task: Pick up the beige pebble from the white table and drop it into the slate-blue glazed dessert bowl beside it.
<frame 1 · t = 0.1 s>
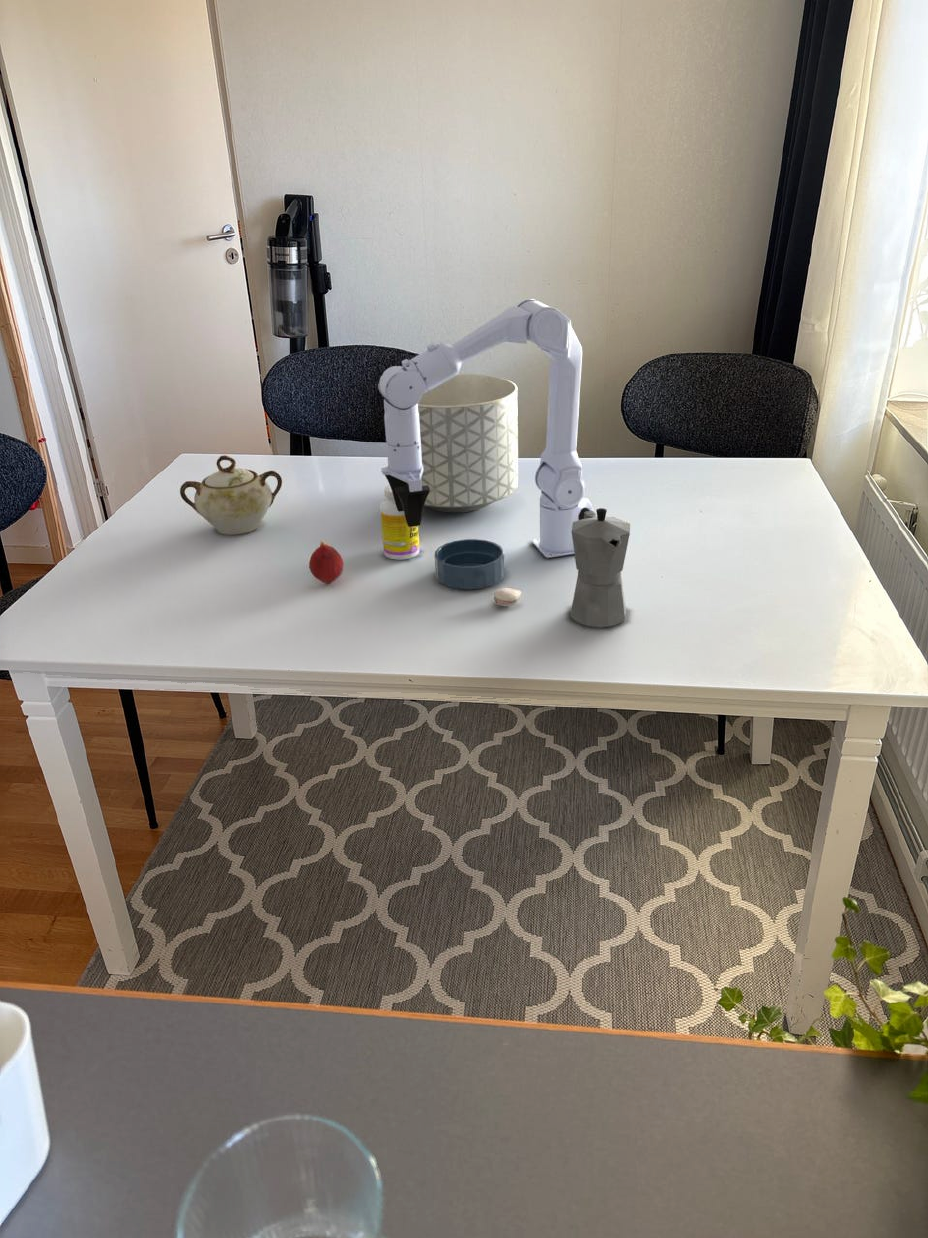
hand: (408, 517, 163), 10 cm above the table, tool pointing down, fingers open, 7 cm apart
supplement bottle: (402, 554, 175), on the table
sugar bowl: (238, 528, 190), on the table
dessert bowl: (470, 576, 165), on the table
coffeepot: (595, 612, 151), on the table
beige pebble: (508, 603, 155), on the table
planter: (458, 504, 197), on the table
onion: (328, 584, 164), on the table
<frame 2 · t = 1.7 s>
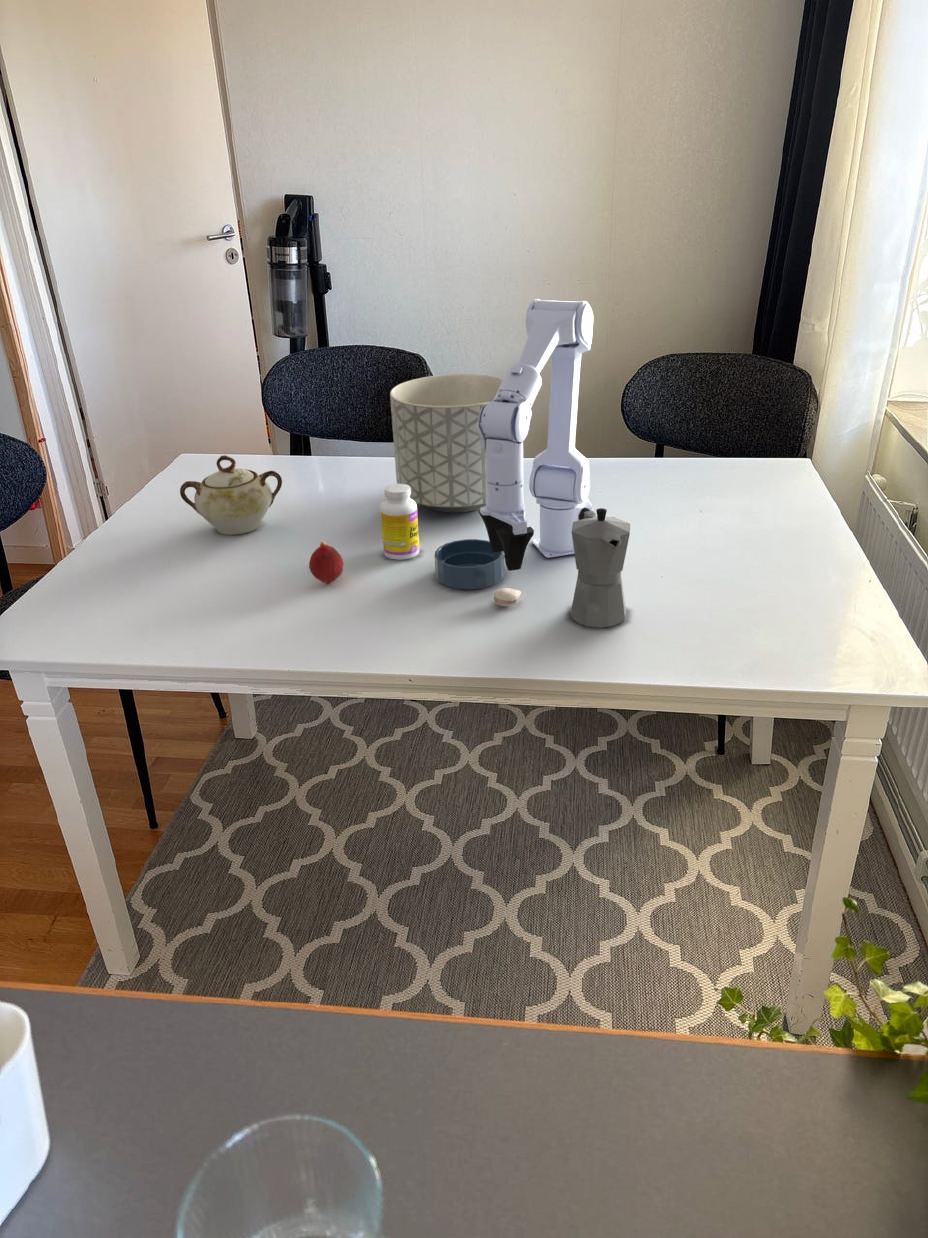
hand: (506, 560, 152), 8 cm above the table, tool pointing down, fingers open, 7 cm apart
nothing on the table moved.
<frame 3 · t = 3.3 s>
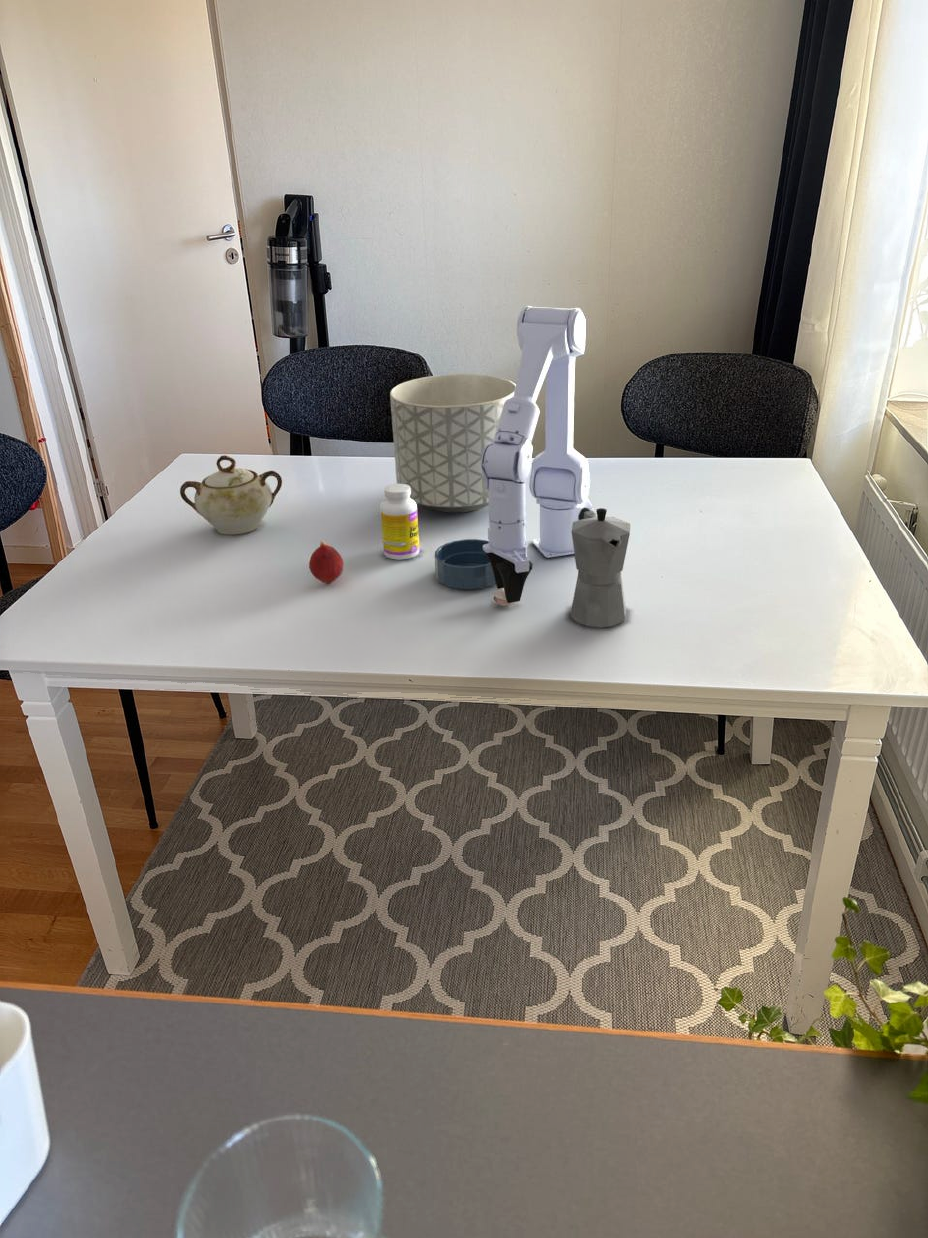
hand: (508, 595, 155), 1 cm above the table, tool pointing down, fingers closed on beige pebble, 4 cm apart
beige pebble: (508, 603, 156), on the table, touching gripper
everything else where it was.
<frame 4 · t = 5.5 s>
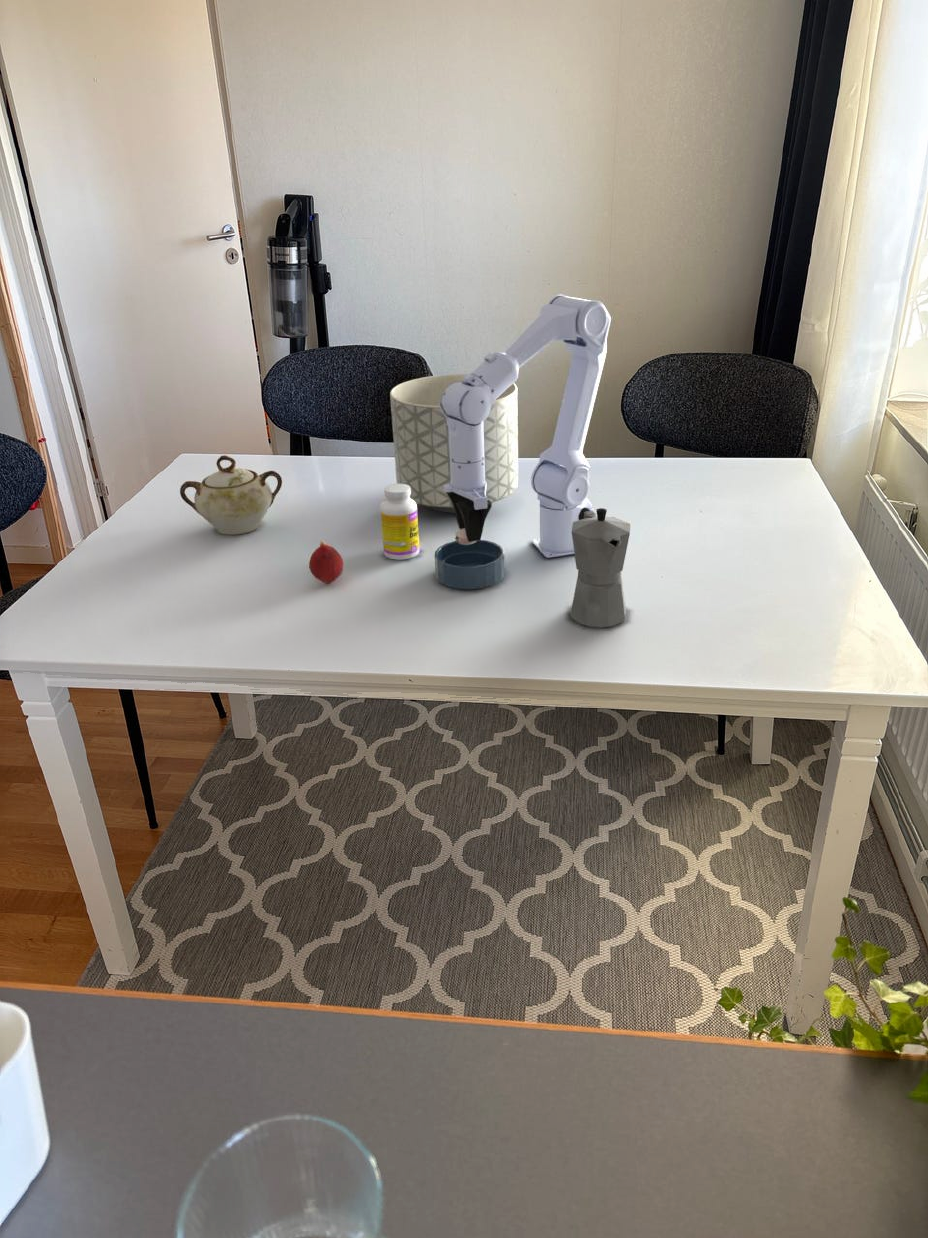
hand: (470, 534, 161), 8 cm above the table, tool pointing down, fingers closed on beige pebble, 4 cm apart
beige pebble: (469, 543, 162), point 6 cm above the table, touching gripper
everything else where it was.
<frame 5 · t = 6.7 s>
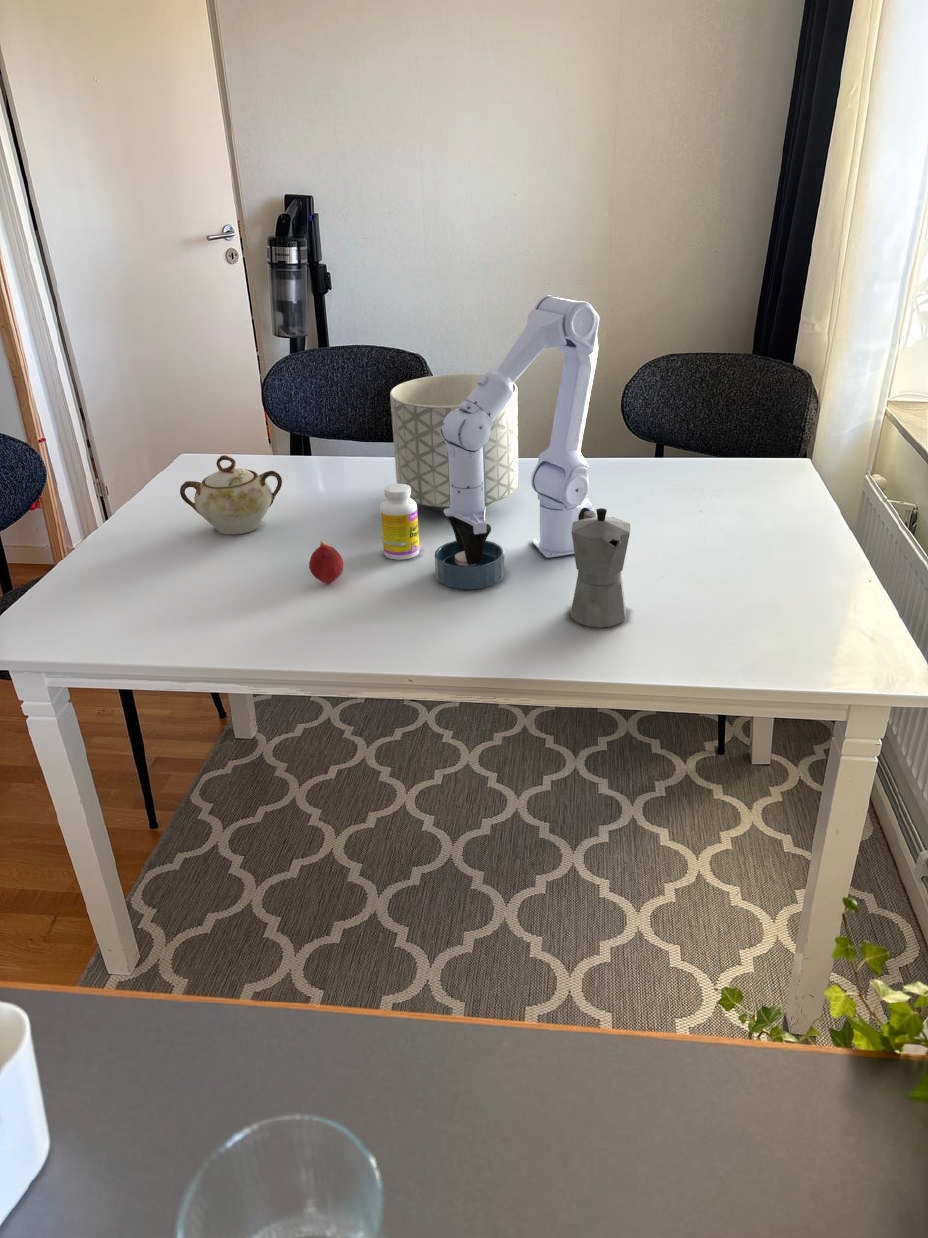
hand: (469, 557, 163), 4 cm above the table, tool pointing down, fingers closed on beige pebble, 4 cm apart
beige pebble: (469, 565, 164), point 2 cm above the table, touching gripper
everything else where it was.
when the fingers open (2 cm above the table, at t = 7.7 s): beige pebble stays where it is, resting on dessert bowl.
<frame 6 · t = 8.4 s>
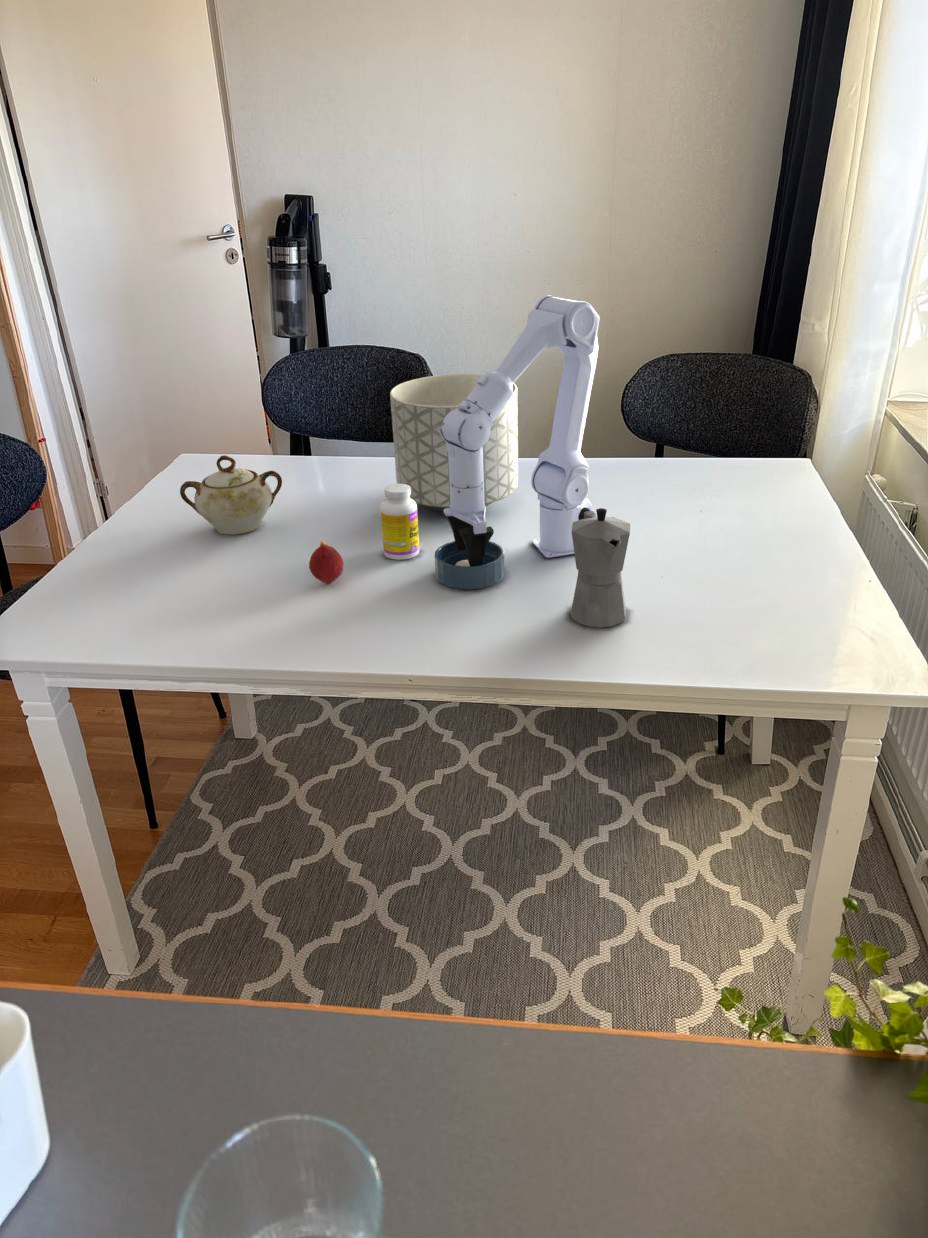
hand: (469, 557, 163), 4 cm above the table, tool pointing down, fingers open, 7 cm apart
beige pebble: (469, 574, 165), resting on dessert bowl
everything else where it was.
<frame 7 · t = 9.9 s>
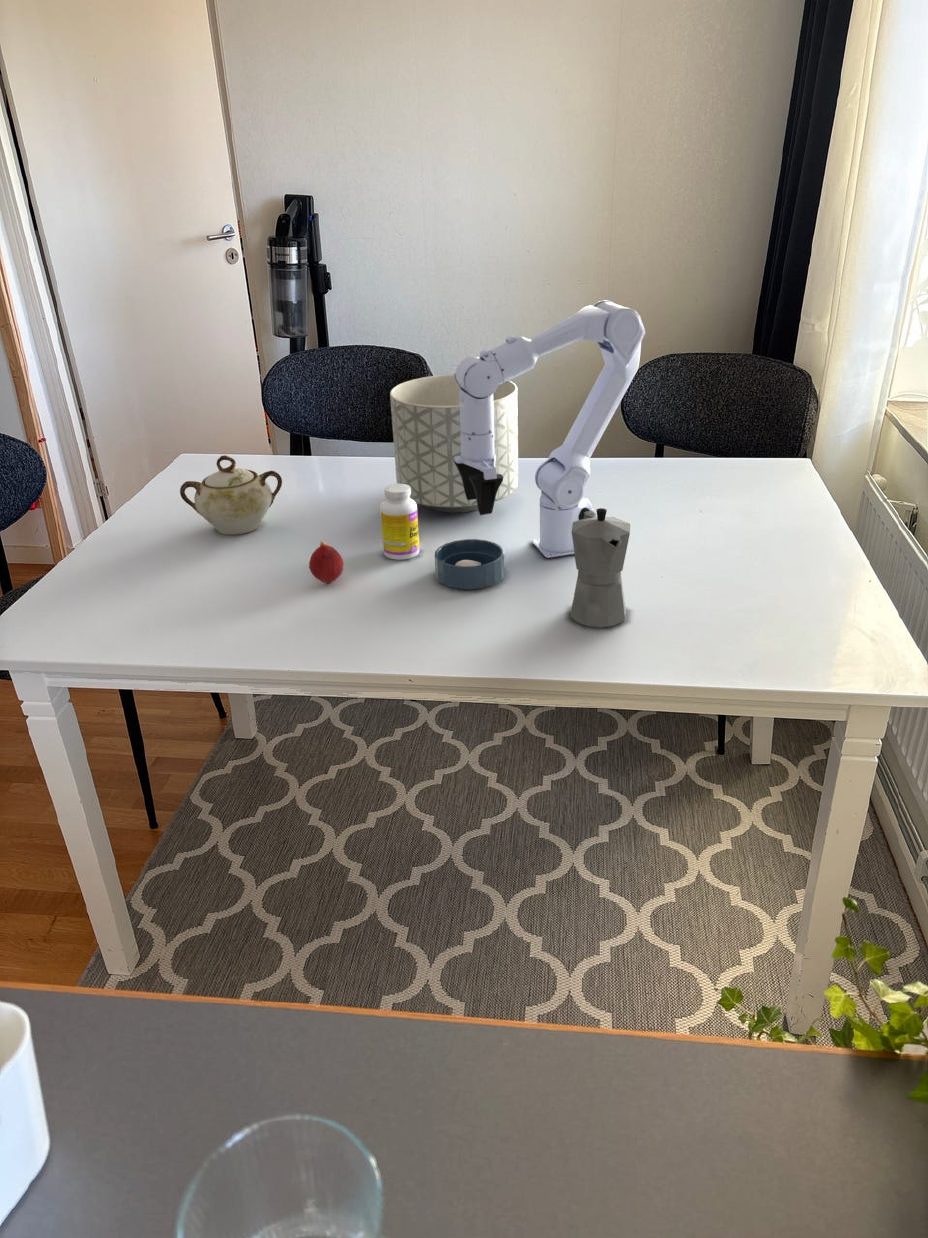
hand: (479, 506, 166), 10 cm above the table, tool pointing down, fingers open, 7 cm apart
nothing on the table moved.
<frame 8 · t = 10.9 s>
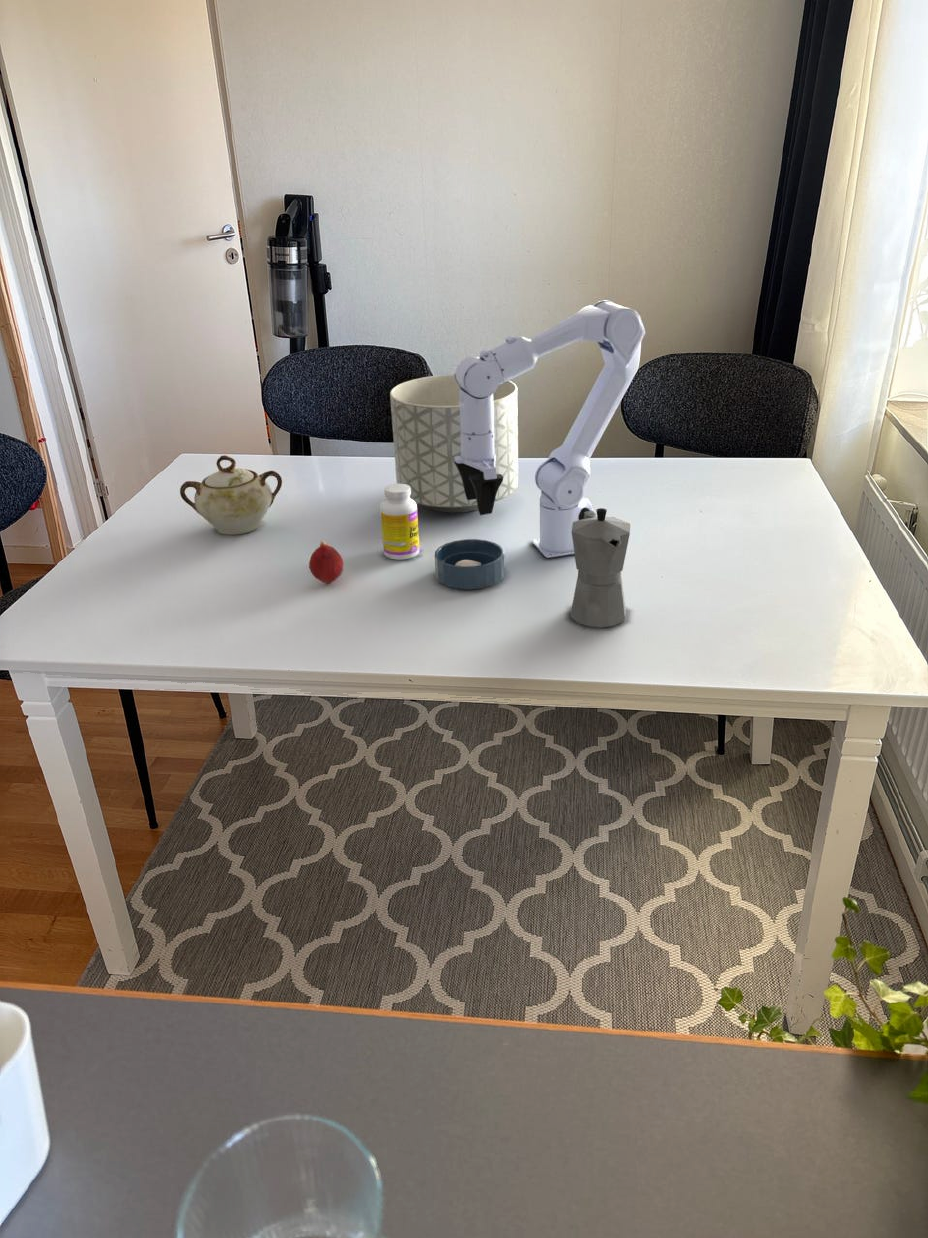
hand: (479, 506, 166), 10 cm above the table, tool pointing down, fingers open, 7 cm apart
nothing on the table moved.
at the end: beige pebble inside the target area in the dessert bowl (0.2 cm from its centre), point 0.3 cm above the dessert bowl's base; the gripper is holding nothing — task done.
